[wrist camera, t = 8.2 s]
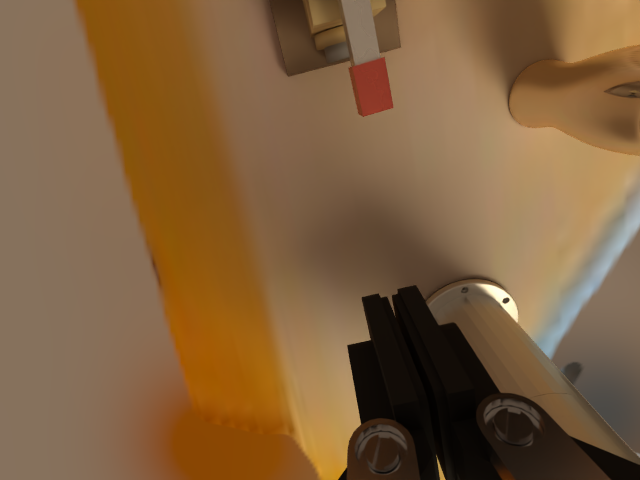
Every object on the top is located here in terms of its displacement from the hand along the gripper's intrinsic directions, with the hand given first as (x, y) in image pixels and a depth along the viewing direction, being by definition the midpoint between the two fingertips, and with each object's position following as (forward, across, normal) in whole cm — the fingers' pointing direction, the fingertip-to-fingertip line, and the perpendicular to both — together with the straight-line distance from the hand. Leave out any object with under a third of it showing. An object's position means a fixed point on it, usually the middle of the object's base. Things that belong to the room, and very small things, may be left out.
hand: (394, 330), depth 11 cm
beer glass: (+27, -21, -1) cm, 34 cm away
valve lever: (+18, -3, -9) cm, 21 cm away
